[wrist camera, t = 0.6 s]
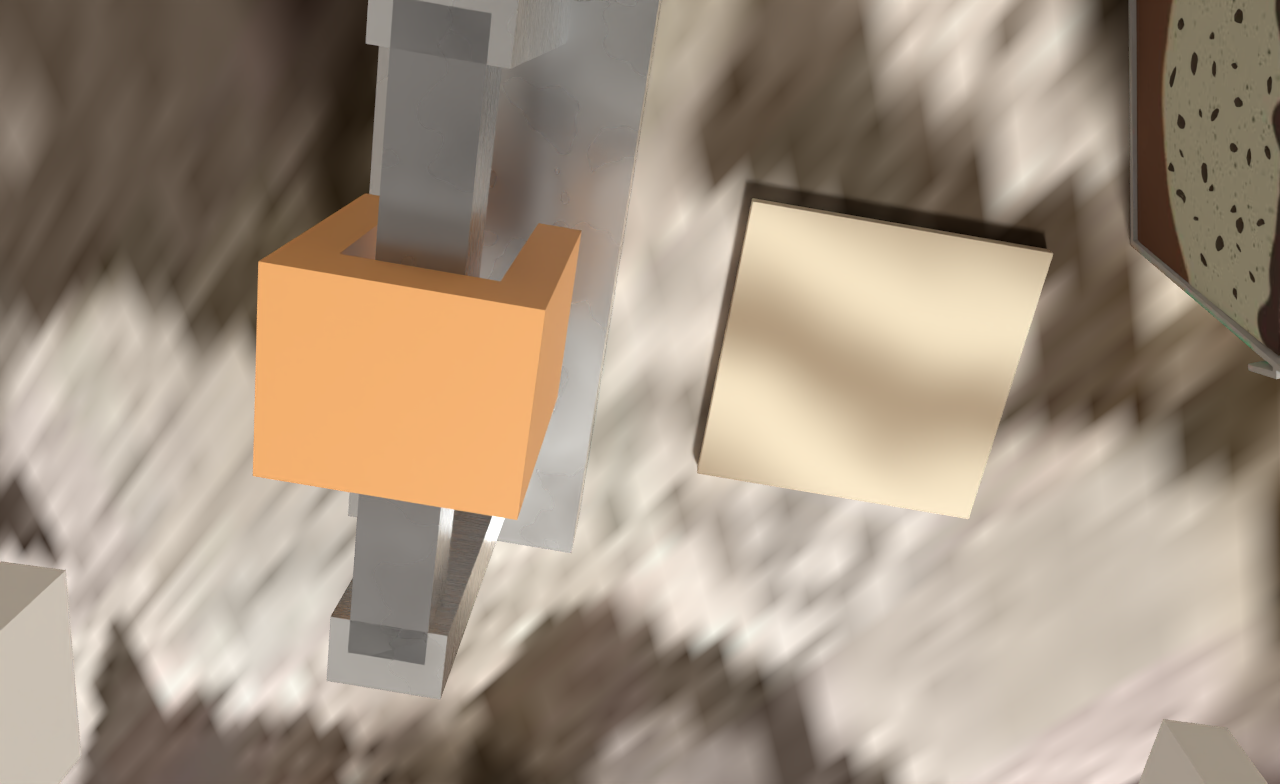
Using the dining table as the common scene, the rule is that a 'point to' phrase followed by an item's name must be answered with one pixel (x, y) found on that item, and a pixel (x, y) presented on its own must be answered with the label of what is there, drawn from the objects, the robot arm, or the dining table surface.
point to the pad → (868, 357)
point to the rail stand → (491, 272)
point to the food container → (1210, 157)
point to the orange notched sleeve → (408, 367)
